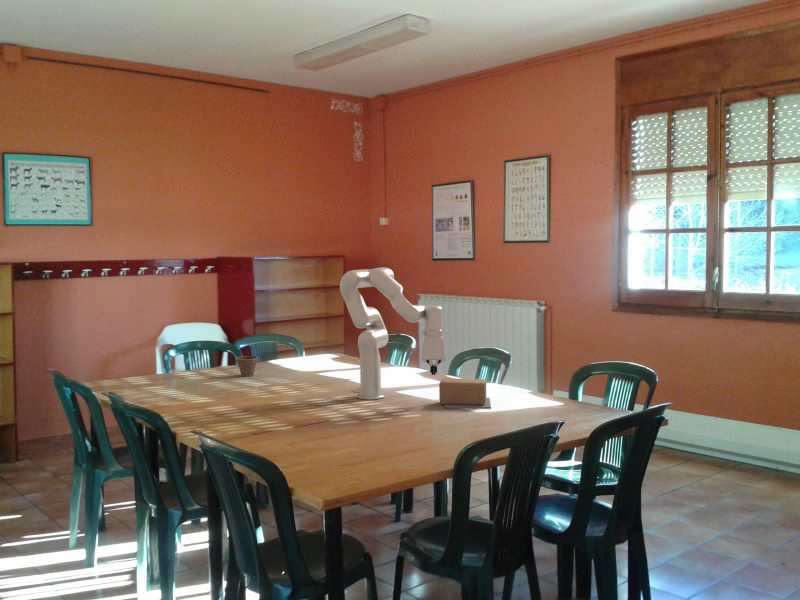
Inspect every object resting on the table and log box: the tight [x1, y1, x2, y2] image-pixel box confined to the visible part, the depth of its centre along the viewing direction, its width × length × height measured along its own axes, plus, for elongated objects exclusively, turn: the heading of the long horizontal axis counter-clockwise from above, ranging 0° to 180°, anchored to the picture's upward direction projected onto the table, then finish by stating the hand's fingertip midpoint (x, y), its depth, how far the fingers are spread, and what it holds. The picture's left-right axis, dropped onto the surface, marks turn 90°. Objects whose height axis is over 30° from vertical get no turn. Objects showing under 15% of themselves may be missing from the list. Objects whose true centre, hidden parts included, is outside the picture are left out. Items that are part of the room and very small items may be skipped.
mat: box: [444, 397, 492, 409], centre depth 343 cm, size 20×20×1 cm
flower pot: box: [236, 355, 259, 378], centre depth 420 cm, size 12×11×10 cm
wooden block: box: [438, 378, 487, 405], centre depth 341 cm, size 10×10×20 cm
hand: (433, 374), depth 343 cm, fingers closed
